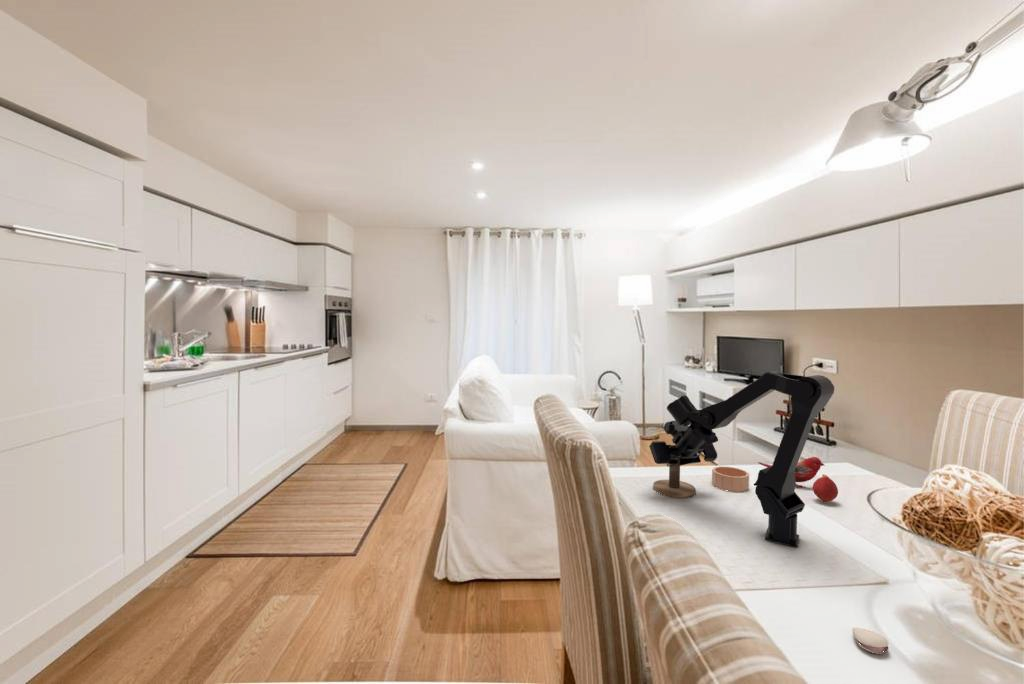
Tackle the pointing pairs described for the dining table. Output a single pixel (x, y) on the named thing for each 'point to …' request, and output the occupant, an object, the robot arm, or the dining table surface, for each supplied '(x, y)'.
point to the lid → (674, 484)
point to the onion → (825, 489)
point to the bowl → (730, 479)
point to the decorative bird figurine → (805, 469)
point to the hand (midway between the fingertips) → (672, 464)
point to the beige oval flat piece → (870, 640)
